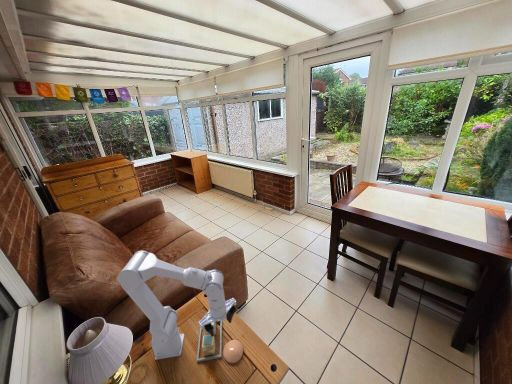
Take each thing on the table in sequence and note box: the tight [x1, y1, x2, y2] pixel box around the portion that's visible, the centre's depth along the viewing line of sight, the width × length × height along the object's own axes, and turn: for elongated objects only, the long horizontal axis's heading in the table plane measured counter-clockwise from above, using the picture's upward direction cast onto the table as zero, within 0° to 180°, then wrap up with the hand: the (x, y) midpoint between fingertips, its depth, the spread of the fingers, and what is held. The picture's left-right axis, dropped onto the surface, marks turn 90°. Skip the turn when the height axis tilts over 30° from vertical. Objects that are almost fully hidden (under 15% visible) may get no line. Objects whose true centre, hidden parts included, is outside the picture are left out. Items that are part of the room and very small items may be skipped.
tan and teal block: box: [201, 334, 216, 357], centre depth 78 cm, size 4×4×6 cm
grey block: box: [203, 321, 217, 336], centre depth 85 cm, size 4×4×6 cm
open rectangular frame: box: [196, 320, 223, 363], centre depth 82 cm, size 9×14×1 cm, turn 8°
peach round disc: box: [222, 339, 244, 364], centre depth 78 cm, size 8×8×1 cm
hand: (220, 327), depth 77 cm, fingers open, 7 cm apart
